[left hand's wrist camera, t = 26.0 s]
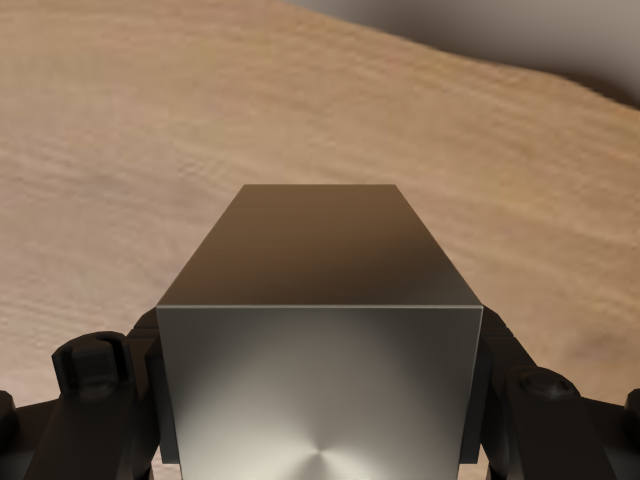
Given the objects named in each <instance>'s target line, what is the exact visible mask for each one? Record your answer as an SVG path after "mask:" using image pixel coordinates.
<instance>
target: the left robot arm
mask: <svg viewBox="0 0 640 480" xmlns="http://www.w3.org/2000/svg"><path fill="white" fill-rule="evenodd" d="M482 305H483V304H482ZM51 357H52V361H53V365H54V369H55V372H56V376H57V380H58V384H59V388H60V391H61V394H60V396H59V398H58V399H55V400H51V401H47V402H43V403H38V404H33V405H28V406H24V407H19V408H16V407H15V404H14V401H13V398H12V396H11V395H10V394H9V393H7V392H6V391H1V390H0V480H154V477H153V470H152V465H151V461H152V459H153V457H154V455H155V452H156V450H157V448H158V446H160V452H161V458H162V463H163V464H180V463H179V457H178V450H177V444H176V437H175V431H174V424H173V417H172V411H171V404H170V398H169V391H168V385H167V378H166V372H165V365H164V358H163V352H162V345H161V339H160V332H159V326H158V319H157V312H156V307H154V308H153V309H151V310H150V311H148V312H147V313H145V314H144V315H142V316H141V318H140V319H139V320H138V322H137V323H136V324H135V326H134V329H132V330H131V331H130V332H129V334H128V335H127V336H125V335H123V334H122V333H118V332H113V331H102V332H95V333H90V334H85V335H82V336H80V337H77V338H75V339H72V340H70V341H68V342H67V343H65V344H64V345H62V346H60V347H59V348H58V349H57V350H56V351H55V352H54V354H53V355H52V356H51ZM480 444H482V446H483V449H484V451H485V453H486V455H487V458H488V460H489V465H488V470H487V476H486V480H640V388H639V389H634V390H633V391H632V392H630V393H629V394H628V397H627V400H626V403H625V406H620V405H616V404H611V403H606V402H601V401H597V400H592V399H588V398H584V397H581V395H580V393H579V391H578V390H577V389H576V387H575V386H574V385H573V383H571V382H570V381H569V380H567V379H566V378H565V377H563V376H562V375H560V374H558V373H556V372H554V371H551V370H549V369H546V368H542V367H538V366H537V365H536V364H535V362H534V361H533V360H532V358H531V357H530V356H529V354H528V353H527V352H526V350H525V349H524V348H523V347H522V345H521V344H520V343H519V341H518V340H517V339H516V337H514V336H513V333H512V332H511V331H510V330H509V328H506V324H505V323H504V322H503V320H502V319H501V318H500V316H499V315H498V314H497V313H495V312H494V311H492V310H491V309H489V308H488V307H486V306H485V305H483V314H482V321H481V327H480V334H479V340H478V347H477V353H476V360H475V366H474V373H473V380H472V386H471V393H470V399H469V406H468V412H467V419H466V425H465V432H464V438H463V445H462V451H461V458H460V464H477V462H478V456H479V450H480Z"/></svg>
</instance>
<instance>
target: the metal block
mask: <svg viewBox="0 0 640 480" xmlns="http://www.w3.org/2000/svg"><path fill="white" fill-rule="evenodd" d="M156 312H157V319H158V326H159V332H160V339H161V345H162V352H163V358H164V365H165V372H166V378H167V385H168V391H169V398H170V404H171V411H172V417H173V424H174V431H175V437H176V444H177V450H178V457H179V463H180V470H181V477H182V480H457V477H458V471H459V464H460V458H461V451H462V445H463V438H464V432H465V425H466V419H467V412H468V406H469V399H470V393H471V386H472V380H473V373H474V366H475V360H476V353H477V347H478V340H479V334H480V327H481V321H482V314H483V305H482V303H481V302H480V300H479V299H478V298H477V296H476V295H475V294H474V292H473V291H472V289H471V288H470V287H469V285H468V284H467V283H466V281H465V280H464V278H463V277H462V276H461V274H460V273H459V272H458V270H457V269H456V268H455V266H454V265H453V263H452V262H451V261H450V259H449V258H448V257H447V255H446V254H445V252H444V251H443V250H442V248H441V247H440V246H439V244H438V243H437V241H436V240H435V239H434V237H433V236H432V235H431V233H430V232H429V230H428V229H427V228H426V226H425V225H424V224H423V222H422V221H421V220H420V218H419V217H418V215H417V214H416V213H415V211H414V210H413V209H412V207H411V206H410V204H409V203H408V202H407V200H406V199H405V198H404V196H403V195H402V193H401V192H400V191H399V189H398V188H397V187H396V185H244V186H243V187H242V188H241V190H240V191H239V193H238V194H237V195H236V197H235V198H234V199H233V201H232V202H231V203H230V205H229V206H228V208H227V209H226V210H225V212H224V213H223V214H222V216H221V217H220V219H219V220H218V221H217V223H216V224H215V225H214V227H213V228H212V229H211V231H210V232H209V234H208V235H207V236H206V238H205V239H204V240H203V242H202V243H201V245H200V246H199V247H198V249H197V250H196V251H195V253H194V254H193V256H192V257H191V258H190V260H189V261H188V262H187V264H186V265H185V266H184V268H183V269H182V271H181V272H180V273H179V275H178V276H177V277H176V279H175V280H174V282H173V283H172V284H171V286H170V287H169V288H168V290H167V291H166V292H165V294H164V295H163V297H162V298H161V299H160V301H159V302H158V303H157V305H156Z"/></svg>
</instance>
